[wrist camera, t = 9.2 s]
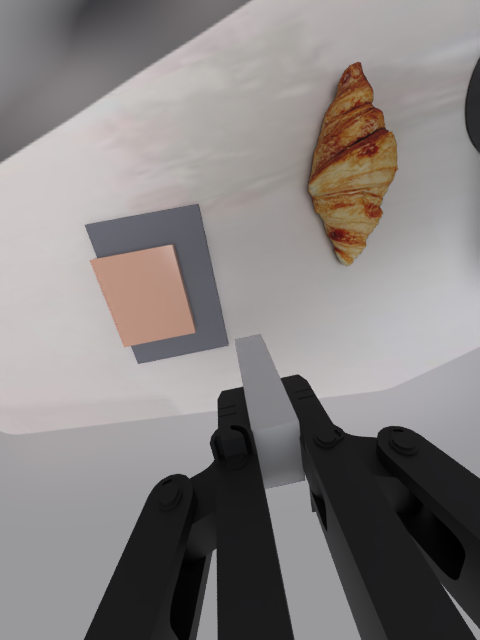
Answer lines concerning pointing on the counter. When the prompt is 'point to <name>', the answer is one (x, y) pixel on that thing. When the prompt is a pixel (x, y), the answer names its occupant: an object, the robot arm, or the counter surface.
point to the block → (145, 294)
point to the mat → (195, 266)
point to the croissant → (352, 165)
